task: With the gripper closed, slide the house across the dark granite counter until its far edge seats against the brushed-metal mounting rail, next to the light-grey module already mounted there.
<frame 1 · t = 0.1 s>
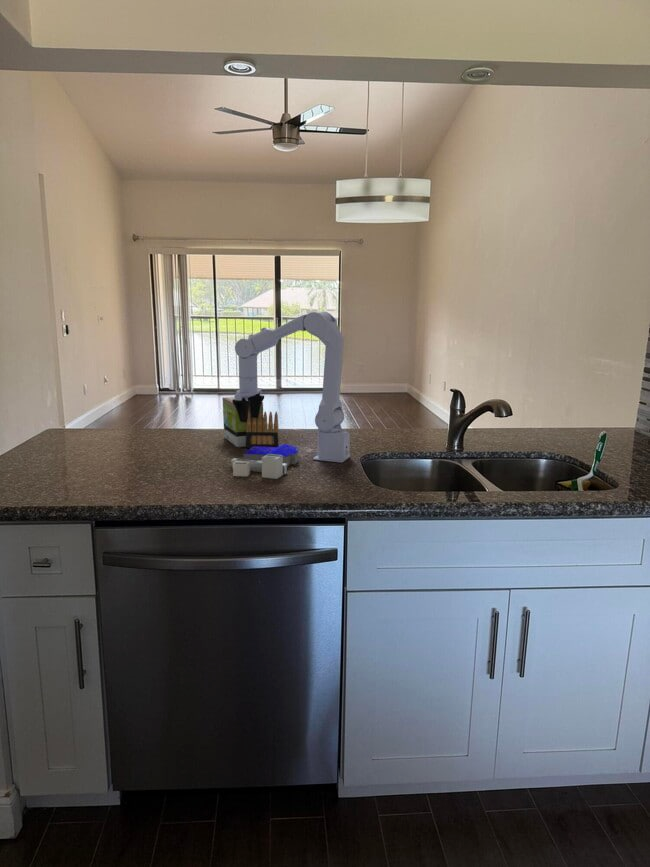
hand: (249, 419, 186), 10 cm above the countertop, tool pointing down, fingers open, 7 cm apart
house: (273, 463, 175), on the countertop
tea box: (243, 442, 200), on the countertop, touching ammunition clip
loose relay: (241, 474, 161), on the countertop
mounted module: (272, 476, 160), on the countertop
rail: (258, 470, 164), on the countertop
ammunition clip: (262, 448, 190), on the countertop, touching tea box
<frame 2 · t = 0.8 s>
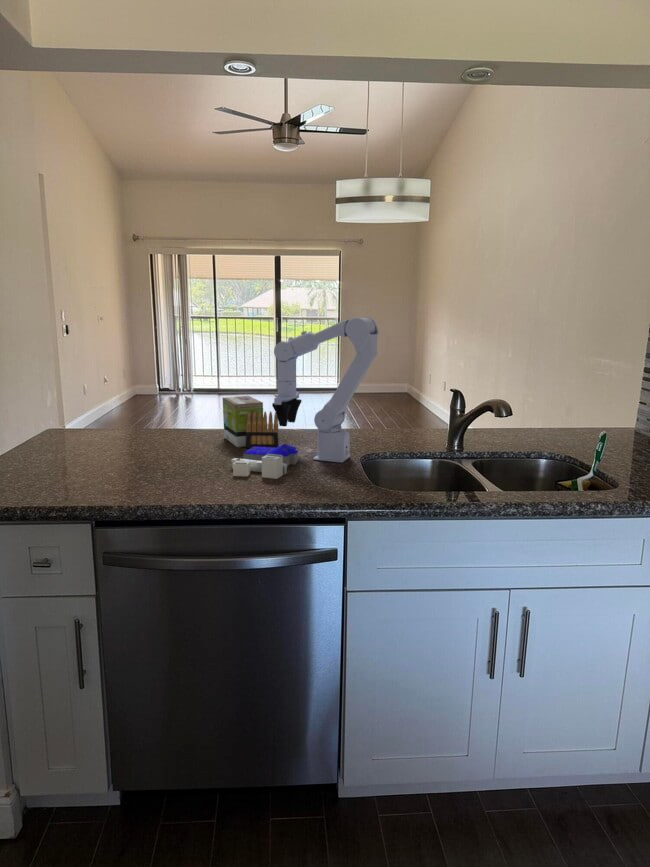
hand: (287, 424, 182), 9 cm above the countertop, tool pointing down, fingers open, 6 cm apart
tea box: (243, 442, 200), on the countertop
ammunition clip: (262, 448, 190), on the countertop
everything else where it was.
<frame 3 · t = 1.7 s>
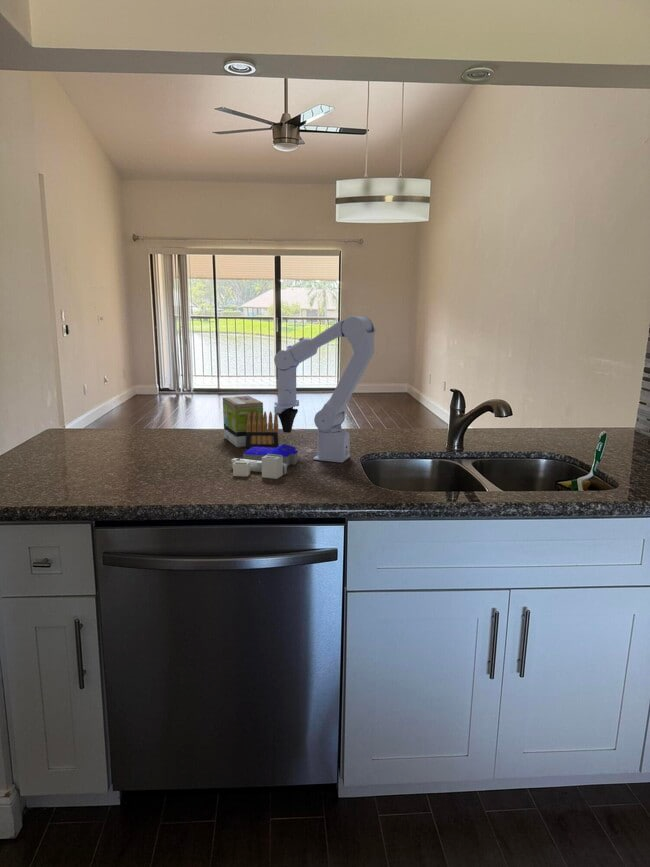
hand: (287, 432, 183), 7 cm above the countertop, tool pointing down, fingers closed
nothing on the countertop moved.
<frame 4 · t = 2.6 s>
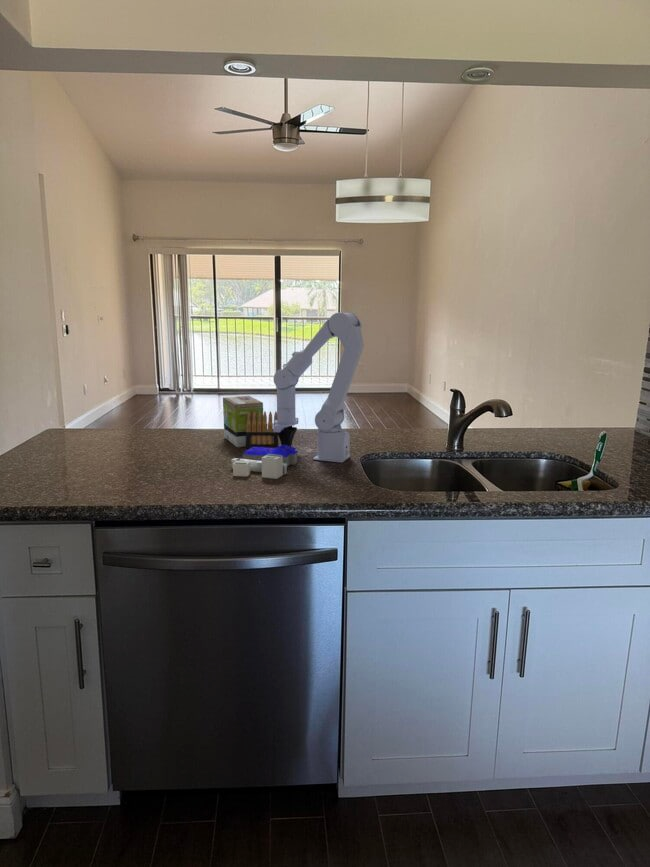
hand: (286, 450, 183), 1 cm above the countertop, tool pointing down, fingers closed
nothing on the countertop moved.
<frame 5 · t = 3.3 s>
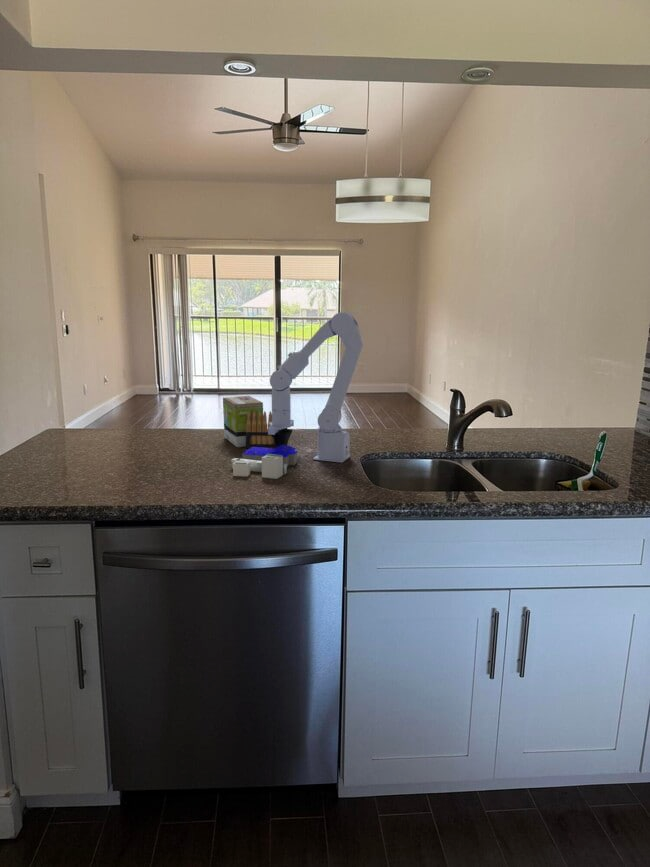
hand: (281, 453, 180), 1 cm above the countertop, tool pointing down, fingers closed
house: (271, 463, 174), on the countertop, touching gripper
everything else where it was.
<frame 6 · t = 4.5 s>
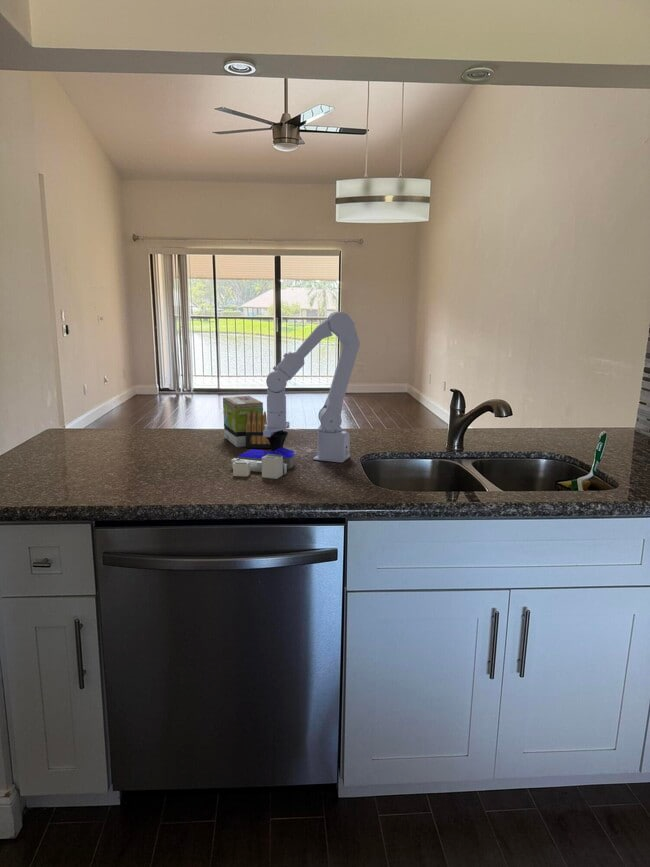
hand: (277, 455, 177), 1 cm above the countertop, tool pointing down, fingers closed
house: (268, 466, 171), on the countertop
everything else where it was.
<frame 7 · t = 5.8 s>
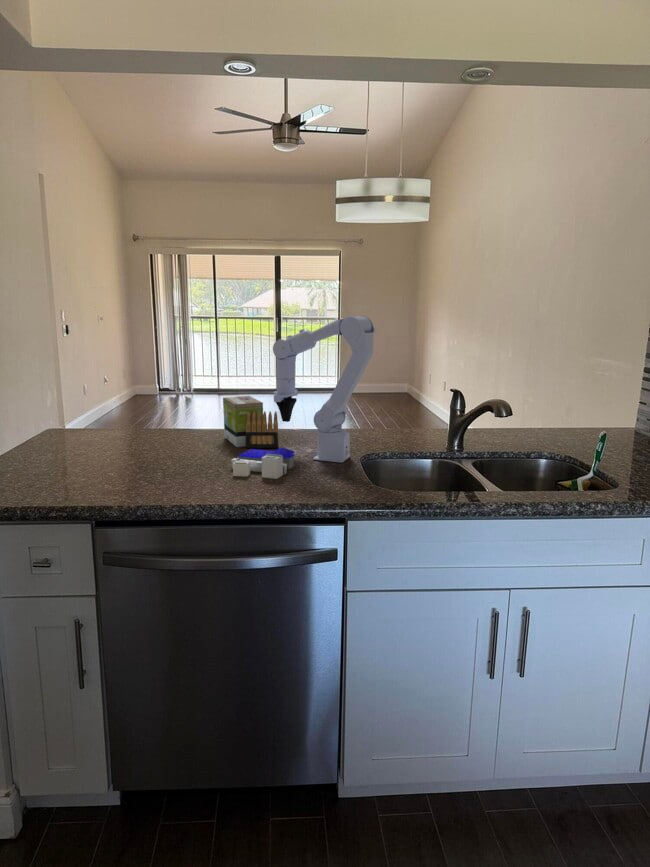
hand: (286, 421, 184), 10 cm above the countertop, tool pointing down, fingers closed
nothing on the countertop moved.
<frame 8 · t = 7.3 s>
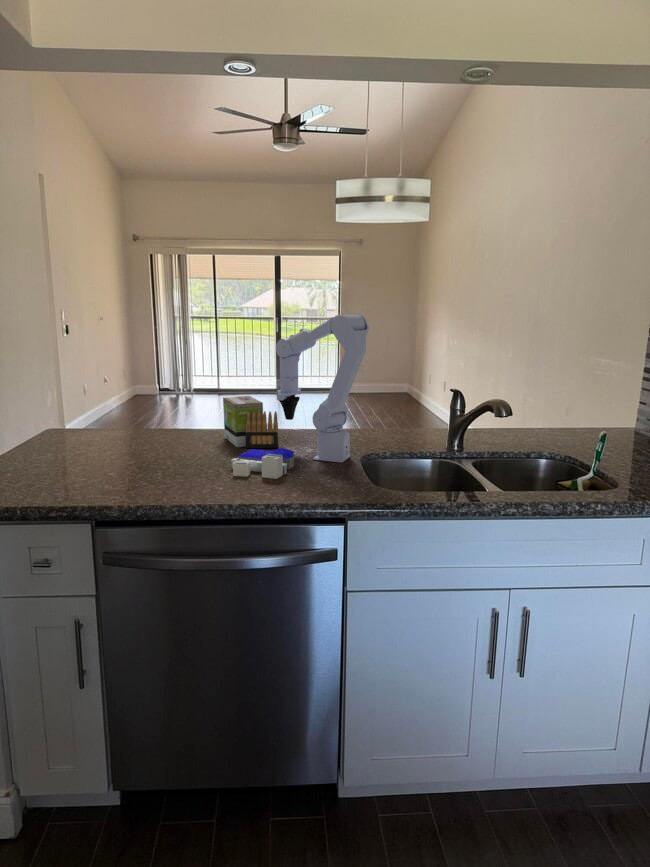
hand: (289, 419, 187), 10 cm above the countertop, tool pointing down, fingers closed
tea box: (243, 442, 200), on the countertop, touching ammunition clip
ammunition clip: (262, 448, 191), on the countertop, touching tea box
everything else where it was.
at the end: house 0.7 cm from the target spot, on the countertop; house moved 4.6 cm from its start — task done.
